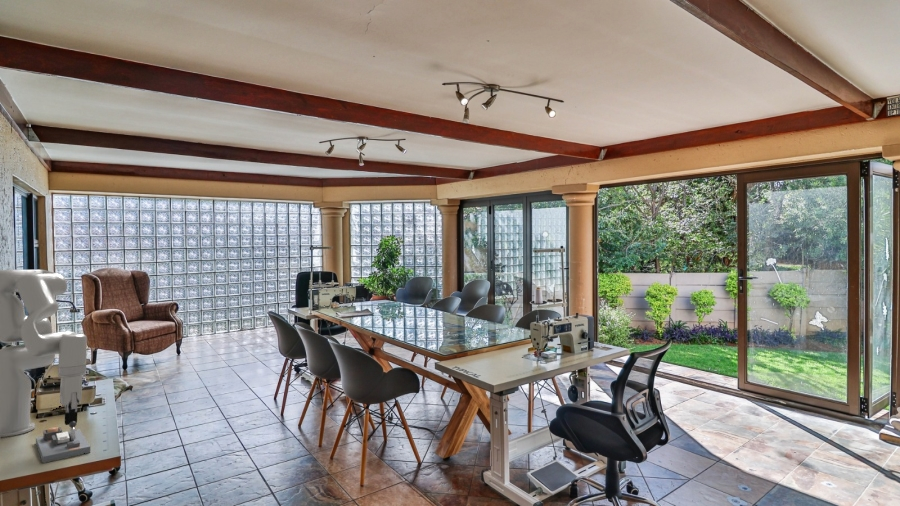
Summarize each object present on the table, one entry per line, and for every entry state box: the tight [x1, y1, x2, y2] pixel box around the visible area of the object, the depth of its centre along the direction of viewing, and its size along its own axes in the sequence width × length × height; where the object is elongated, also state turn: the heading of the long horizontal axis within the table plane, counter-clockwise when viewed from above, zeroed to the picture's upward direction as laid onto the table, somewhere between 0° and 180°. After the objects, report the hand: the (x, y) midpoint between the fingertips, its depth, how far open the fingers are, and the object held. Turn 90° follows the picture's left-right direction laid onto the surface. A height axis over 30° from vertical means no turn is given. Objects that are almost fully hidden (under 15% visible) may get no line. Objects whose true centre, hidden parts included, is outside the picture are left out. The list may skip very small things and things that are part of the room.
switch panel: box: [35, 427, 91, 464], centre depth 160 cm, size 22×12×4 cm, turn 46°
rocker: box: [56, 430, 70, 443], centre depth 160 cm, size 5×3×1 cm, turn 46°
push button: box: [46, 426, 59, 433], centre depth 163 cm, size 3×3×3 cm
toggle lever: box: [69, 421, 78, 440], centre depth 157 cm, size 2×2×6 cm
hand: (70, 423), depth 161 cm, fingers closed
